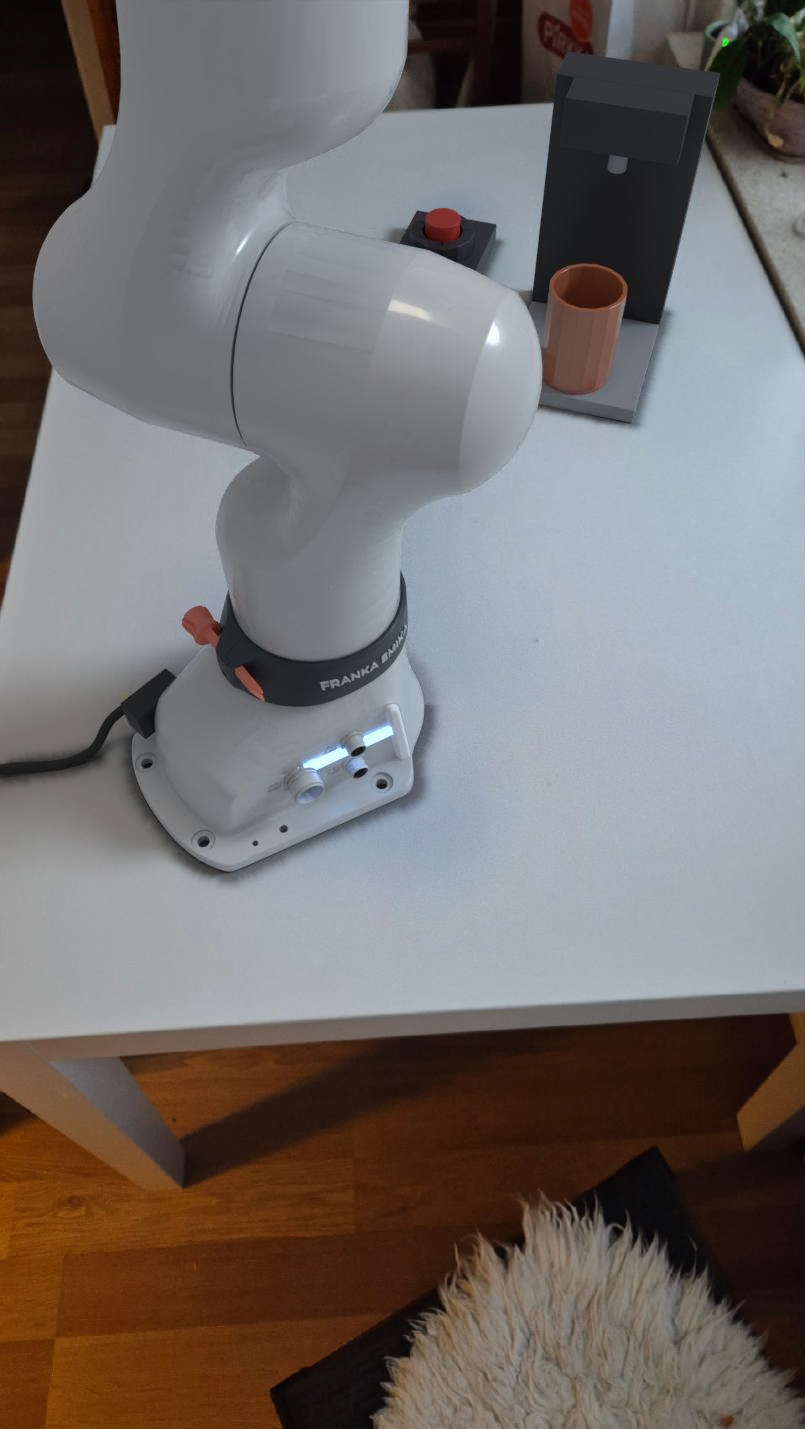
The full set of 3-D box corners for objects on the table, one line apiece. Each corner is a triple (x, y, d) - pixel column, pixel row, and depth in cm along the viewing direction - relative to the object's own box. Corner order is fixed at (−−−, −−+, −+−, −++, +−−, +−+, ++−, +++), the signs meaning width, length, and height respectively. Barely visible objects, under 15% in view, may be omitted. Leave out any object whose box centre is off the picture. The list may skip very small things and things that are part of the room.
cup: (572, 404, 94) (586, 321, 86) (524, 366, 97) (533, 282, 89) (625, 375, 96) (643, 291, 88) (577, 338, 99) (590, 254, 91)
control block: (468, 303, 104) (470, 268, 101) (385, 288, 106) (384, 253, 103) (495, 243, 110) (498, 207, 107) (416, 229, 112) (416, 194, 108)
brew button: (454, 246, 104) (454, 230, 102) (420, 240, 104) (420, 224, 103) (463, 227, 106) (464, 211, 104) (430, 221, 106) (431, 205, 105)
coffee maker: (632, 423, 95) (688, 183, 75) (497, 396, 97) (518, 156, 77) (663, 313, 103) (720, 73, 84) (539, 290, 105) (567, 51, 86)
